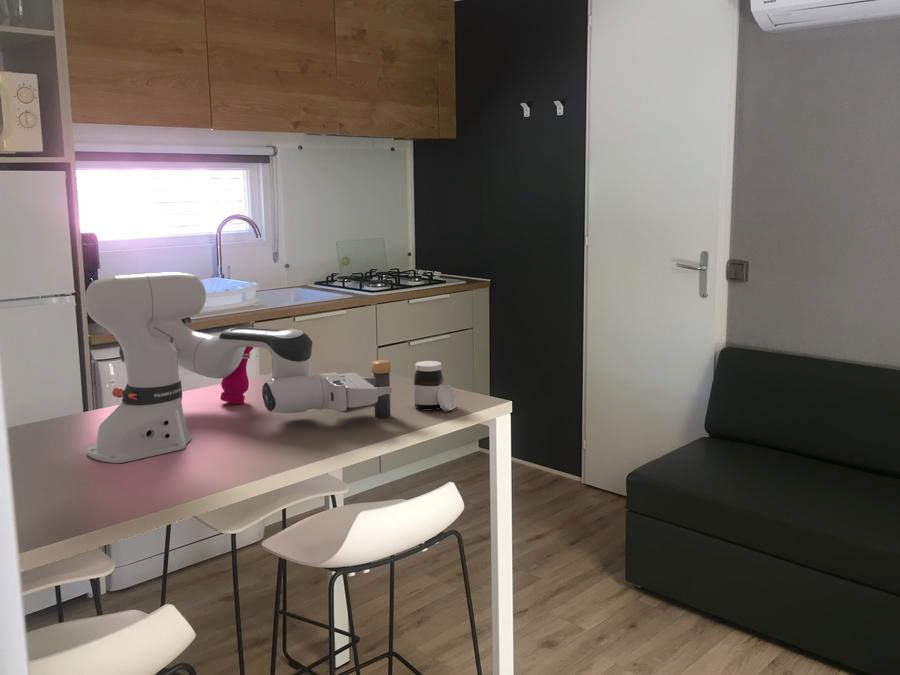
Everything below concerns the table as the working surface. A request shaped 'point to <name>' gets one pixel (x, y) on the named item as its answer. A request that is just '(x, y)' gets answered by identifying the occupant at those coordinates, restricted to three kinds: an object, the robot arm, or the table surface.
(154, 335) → the robot arm
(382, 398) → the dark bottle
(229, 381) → the pepper mill
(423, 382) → the spread jar
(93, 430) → the table surface
